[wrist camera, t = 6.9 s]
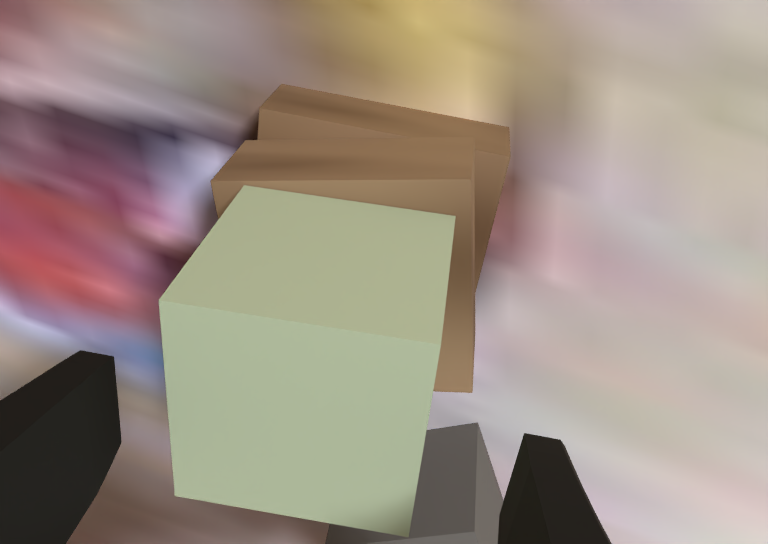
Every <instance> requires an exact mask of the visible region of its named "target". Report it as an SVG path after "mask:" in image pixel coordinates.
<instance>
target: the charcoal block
mask: <svg viewBox="0 0 768 544" xmlns="http://www.w3.org/2000/svg"><path fill="white" fill-rule="evenodd" d="M502 505H503V498H502V495H501V492H500V489H499V486H498V483H497V479H496V476H495V473H494V470H493V467H492V464H491V461H490V458H489V455H488V452H487V449H486V446H485V443H484V440H483V437H482V434H481V431H480V428H479V425H478V423H472V424H465V425H458V426H452V427H445V428H438V429H431V430H426V436H425V442H424V448H423V454H422V460H421V466H420V472H419V478H418V484H417V490H416V495H415V501H414V507H413V513H412V519H411V525H410V531H409V537H404V536H398V535H393V534H387V533H381V532H376V531H370V530H364V529H359V528H353V527H347V526H342V525H336V524H330V526H329V530H328V535H327V539H326V543H325V544H498V529H499V514H500V511H501V508H502Z"/></svg>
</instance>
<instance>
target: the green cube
mask: <svg viewBox="0 0 768 544" xmlns="http://www.w3.org/2000/svg"><path fill="white" fill-rule="evenodd" d="M455 218H456V216H452V215H445V214H438V213H432V212H425V211H418V210H411V209H404V208H397V207H390V206H384V205H377V204H370V203H363V202H356V201H349V200H342V199H335V198H329V197H322V196H315V195H308V194H301V193H294V192H287V191H281V190H274V189H267V188H260V187H253V186H246V185H244V186H243V187H242V189H241V190H240V191H239V193H238V194H237V195H236V197H235V198H234V199H233V201H232V202H231V203H230V205H229V206H228V207H227V209H226V210H225V211H224V213H223V214H222V216H221V217H220V218H219V220H218V221H217V222H216V224H215V225H214V226H213V228H212V229H211V230H210V232H209V233H208V234H207V236H206V237H205V238H204V240H203V241H202V242H201V244H200V245H199V246H198V248H197V249H196V251H195V252H194V253H193V255H192V256H191V257H190V259H189V260H188V261H187V263H186V264H185V265H184V267H183V268H182V269H181V271H180V272H179V273H178V275H177V276H176V277H175V279H174V280H173V282H172V283H171V284H170V286H169V287H168V288H167V290H166V291H165V292H164V294H163V295H162V296H161V298H160V299H159V311H160V323H161V335H162V347H163V359H164V371H165V384H166V396H167V408H168V420H169V432H170V444H171V456H172V468H173V480H174V492H175V496H177V497H183V498H189V499H194V500H200V501H206V502H211V503H217V504H223V505H228V506H234V507H240V508H245V509H251V510H257V511H262V512H268V513H274V514H279V515H285V516H291V517H296V518H302V519H308V520H313V521H319V522H325V523H330V524H336V525H342V526H347V527H353V528H359V529H364V530H370V531H376V532H381V533H387V534H393V535H398V536H404V537H409V531H410V525H411V519H412V513H413V507H414V501H415V495H416V490H417V484H418V478H419V472H420V466H421V460H422V454H423V448H424V442H425V436H426V430H427V425H428V419H429V413H430V407H431V401H432V395H433V389H434V383H435V377H436V371H437V365H438V360H439V354H440V348H441V340H442V332H443V323H444V314H445V305H446V296H447V288H448V279H449V270H450V261H451V253H452V244H453V235H454V226H455Z"/></svg>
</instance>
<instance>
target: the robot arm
mask: <svg viewBox="0 0 768 544" xmlns="http://www.w3.org/2000/svg"><path fill="white" fill-rule="evenodd" d="M120 444H121V431H120V420H119V409H118V397H117V386H116V375H115V363H114V357H113V356H108V355H102V354H97V353H92V352H86V351H81V350H80V351H79V352H77V353H75V354H74V355H72V356H70V357H69V358H67V359H65V360H64V361H62V362H61V363H59V364H57V365H56V366H54V367H53V368H51V369H50V370H48V371H46V372H45V373H43V374H42V375H40V376H39V377H37V378H35V379H34V380H32V381H31V382H29V383H28V384H26V385H24V386H23V387H21V388H20V389H18V390H17V391H15V392H13V393H12V394H10V395H8V396H7V397H5V398H4V399H2V400H0V544H66V542H67V541H68V539H69V538H70V536H71V535H72V533H73V531H74V530H75V528H76V527H77V525H78V524H79V522H80V520H81V519H82V517H83V516H84V514H85V513H86V511H87V509H88V508H89V506H90V505H91V503H92V501H93V500H94V498H95V497H96V495H97V493H98V491H99V489H100V487H101V485H102V483H103V481H104V479H105V477H106V475H107V473H108V471H109V469H110V466H111V464H112V462H113V460H114V458H115V455H116V453H117V451H118V449H119V447H120ZM498 544H611V542H610V540H609V538H608V536H607V534H606V532H605V531H604V529H603V527H602V525H601V523H600V521H599V519H598V517H597V515H596V513H595V511H594V509H593V507H592V505H591V503H590V501H589V499H588V497H587V495H586V493H585V491H584V488H583V486H582V484H581V482H580V480H579V478H578V475H577V473H576V471H575V469H574V466H573V464H572V462H571V460H570V457H569V455H568V453H567V450H566V448H565V446H564V444H563V443H562V442H561V440H558V439H553V438H548V437H542V436H537V435H531V434H526V433H524V436H523V439H522V443H521V446H520V449H519V452H518V456H517V459H516V462H515V465H514V469H513V472H512V475H511V478H510V482H509V485H508V488H507V492H506V495H505V498H504V501H503V505H502V508H501V511H500V514H499V529H498Z"/></svg>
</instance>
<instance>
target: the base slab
mask: <svg viewBox="0 0 768 544" xmlns="http://www.w3.org/2000/svg"><path fill="white" fill-rule="evenodd" d="M413 137H475V292H476V288H477V284H478V280H479V276H480V272H481V268H482V265H483V261H484V257H485V253H486V249H487V245H488V241H489V238H490V234H491V230H492V226H493V222H494V218H495V215H496V211H497V207H498V203H499V199H500V195H501V191H502V188H503V184H504V180H505V176H506V172H507V168H508V164H509V161H510V134H509V127H505V126H499V125H494V124H489V123H484V122H478V121H473V120H468V119H463V118H457V117H452V116H447V115H442V114H437V113H431V112H426V111H421V110H416V109H410V108H405V107H400V106H395V105H390V104H384V103H379V102H374V101H369V100H363V99H358V98H353V97H348V96H342V95H337V94H332V93H327V92H322V91H316V90H311V89H306V88H301V87H295V86H290V85H285V84H281V85H280V86H279V87H278V89H277V90H276V91H275V92H274V93H273V94H272V95H271V96H270V97H269V98H268V99H267V100H266V102H265V103H264V104H263V105H262V106H261V107H260V108H259V123H258V139H257V140H290V139H352V138H413Z"/></svg>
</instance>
